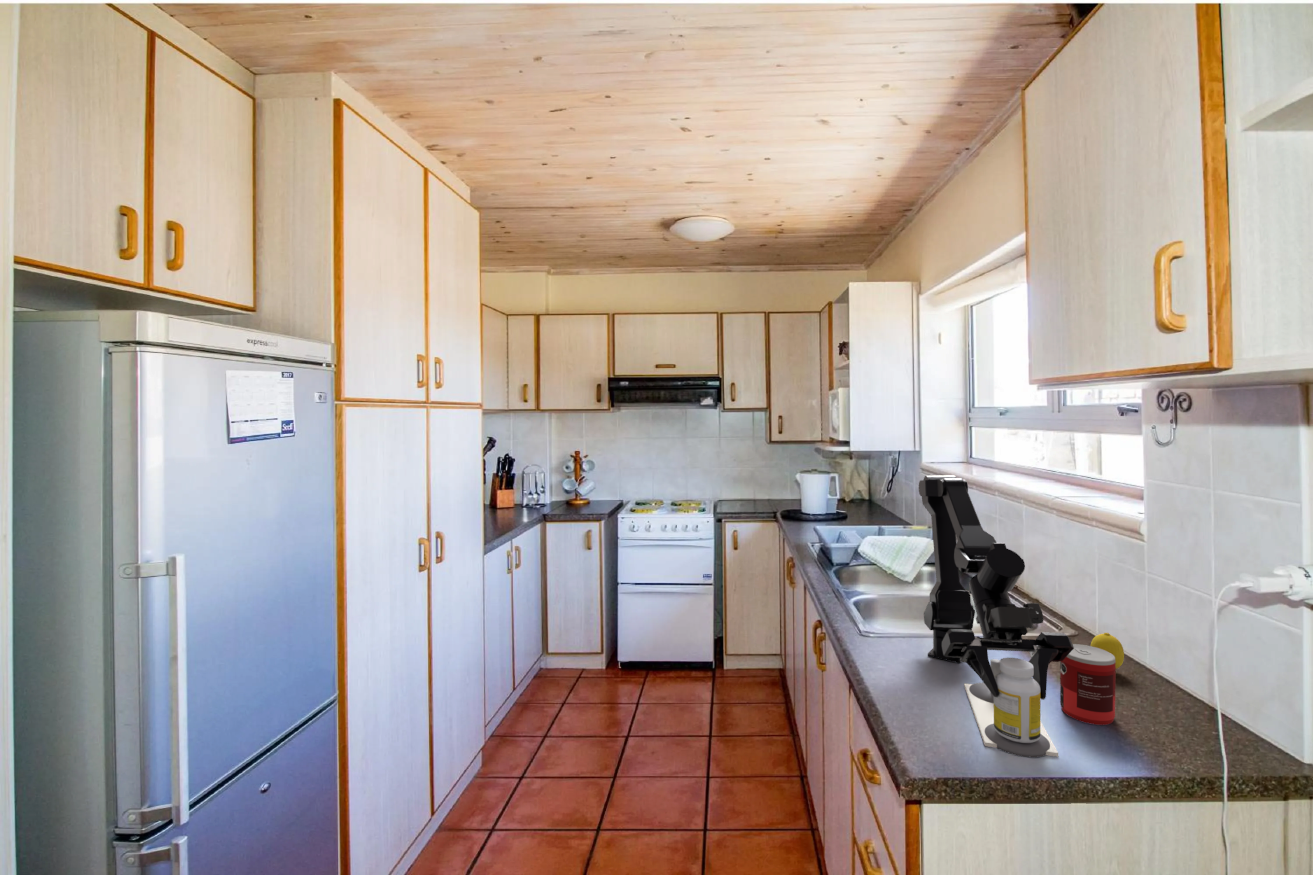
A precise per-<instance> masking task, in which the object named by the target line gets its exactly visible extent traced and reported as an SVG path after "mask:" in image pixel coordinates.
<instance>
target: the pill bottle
mask: <svg viewBox="0 0 1313 875" xmlns="http://www.w3.org/2000/svg"><path fill="white" fill-rule="evenodd" d="M999 660H1000V670H1001V671H1002V672H1001V673H999V674H997V675H996V676H995V681H996V684H997V687H998V692H999V696H998V697H994V728H995V730H996V731H997V732H998V733H999V734H1000V735H1001V736H1003V737H1005V738H1007V739H1009V740H1012V741H1016V742H1021V743H1032V742H1035V741H1037V740H1038V739H1039V738H1040V721H1041V715H1042V714H1041V694H1040V686H1039V684H1038V683H1037V681H1036V680H1034V679H1033V678H1032V676H1033V675H1034V667H1033V665H1032V664H1031V663H1030V662H1029V660H1028V661H1027V660H1025V659H1022V658H1017V657H1003V658H1000V659H999Z"/></svg>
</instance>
